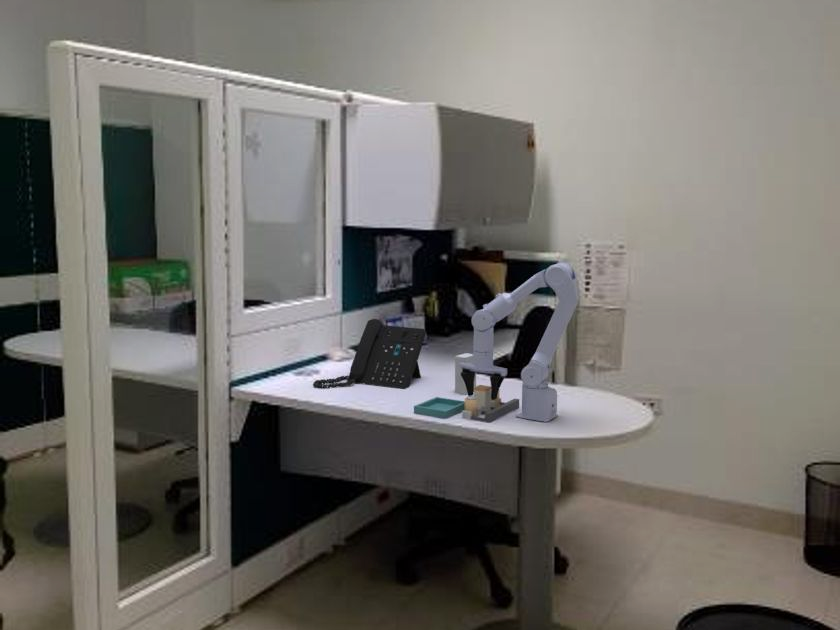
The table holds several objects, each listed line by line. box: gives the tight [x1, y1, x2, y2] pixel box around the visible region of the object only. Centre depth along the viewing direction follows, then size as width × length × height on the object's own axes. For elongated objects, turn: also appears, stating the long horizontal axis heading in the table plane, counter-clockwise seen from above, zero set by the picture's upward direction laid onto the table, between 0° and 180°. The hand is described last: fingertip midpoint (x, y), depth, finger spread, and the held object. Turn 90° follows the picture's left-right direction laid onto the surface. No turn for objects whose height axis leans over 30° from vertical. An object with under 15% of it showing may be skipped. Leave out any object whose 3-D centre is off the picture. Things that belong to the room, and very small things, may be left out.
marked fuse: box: [473, 384, 491, 412], centre depth 230 cm, size 4×4×7 cm
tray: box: [413, 396, 465, 420], centre depth 230 cm, size 11×13×2 cm
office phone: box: [312, 318, 427, 390], centre depth 263 cm, size 29×28×20 cm
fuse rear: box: [491, 388, 501, 407], centre depth 235 cm, size 4×4×6 cm
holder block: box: [461, 397, 520, 424], centre depth 228 cm, size 9×19×2 cm, turn 148°
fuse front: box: [464, 395, 478, 417], centre depth 224 cm, size 4×4×6 cm
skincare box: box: [454, 352, 477, 396], centre depth 251 cm, size 6×4×12 cm
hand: (482, 397), depth 230 cm, fingers open, 7 cm apart
